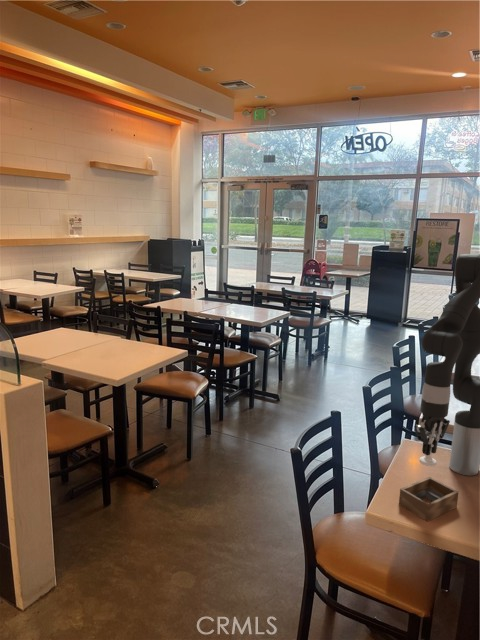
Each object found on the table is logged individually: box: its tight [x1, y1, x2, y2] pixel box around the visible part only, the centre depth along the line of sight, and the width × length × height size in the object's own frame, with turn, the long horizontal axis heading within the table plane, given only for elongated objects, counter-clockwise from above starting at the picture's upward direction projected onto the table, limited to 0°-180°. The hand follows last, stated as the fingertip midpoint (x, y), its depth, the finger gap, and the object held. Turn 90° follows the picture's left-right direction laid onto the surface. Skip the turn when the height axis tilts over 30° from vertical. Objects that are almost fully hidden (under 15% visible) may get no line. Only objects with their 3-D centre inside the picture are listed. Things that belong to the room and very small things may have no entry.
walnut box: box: [398, 476, 459, 522], centre depth 139 cm, size 14×10×5 cm
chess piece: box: [418, 436, 438, 467], centre depth 137 cm, size 5×5×10 cm
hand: (429, 453), depth 138 cm, fingers closed on chess piece
